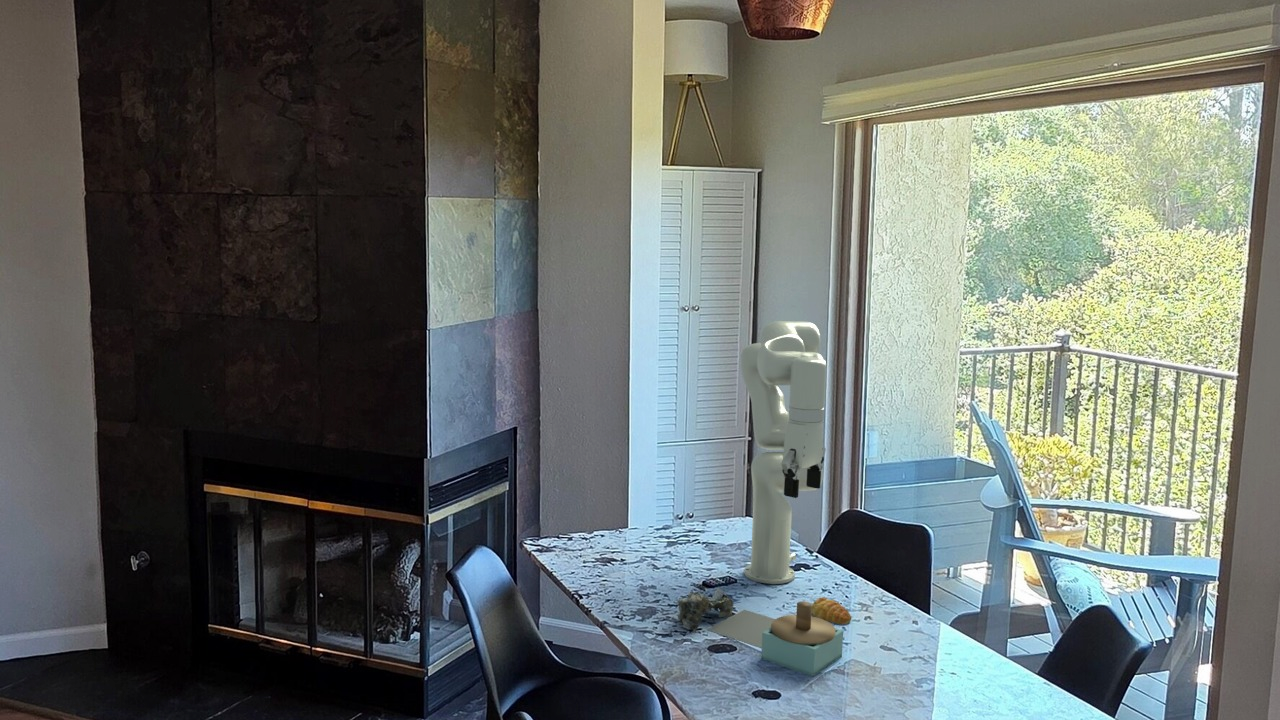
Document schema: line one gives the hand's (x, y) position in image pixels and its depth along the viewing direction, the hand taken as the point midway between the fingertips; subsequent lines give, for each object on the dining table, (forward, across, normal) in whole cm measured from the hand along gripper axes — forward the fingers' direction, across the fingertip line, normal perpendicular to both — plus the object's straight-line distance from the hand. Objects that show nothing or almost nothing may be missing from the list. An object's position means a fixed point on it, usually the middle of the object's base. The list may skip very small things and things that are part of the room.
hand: (802, 491), depth 224 cm
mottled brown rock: (+31, +12, -16) cm, 37 cm away
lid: (+24, +15, +10) cm, 30 cm away
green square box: (+30, +15, +10) cm, 35 cm away
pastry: (+31, -9, +4) cm, 32 cm away
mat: (+30, +9, -5) cm, 32 cm away
